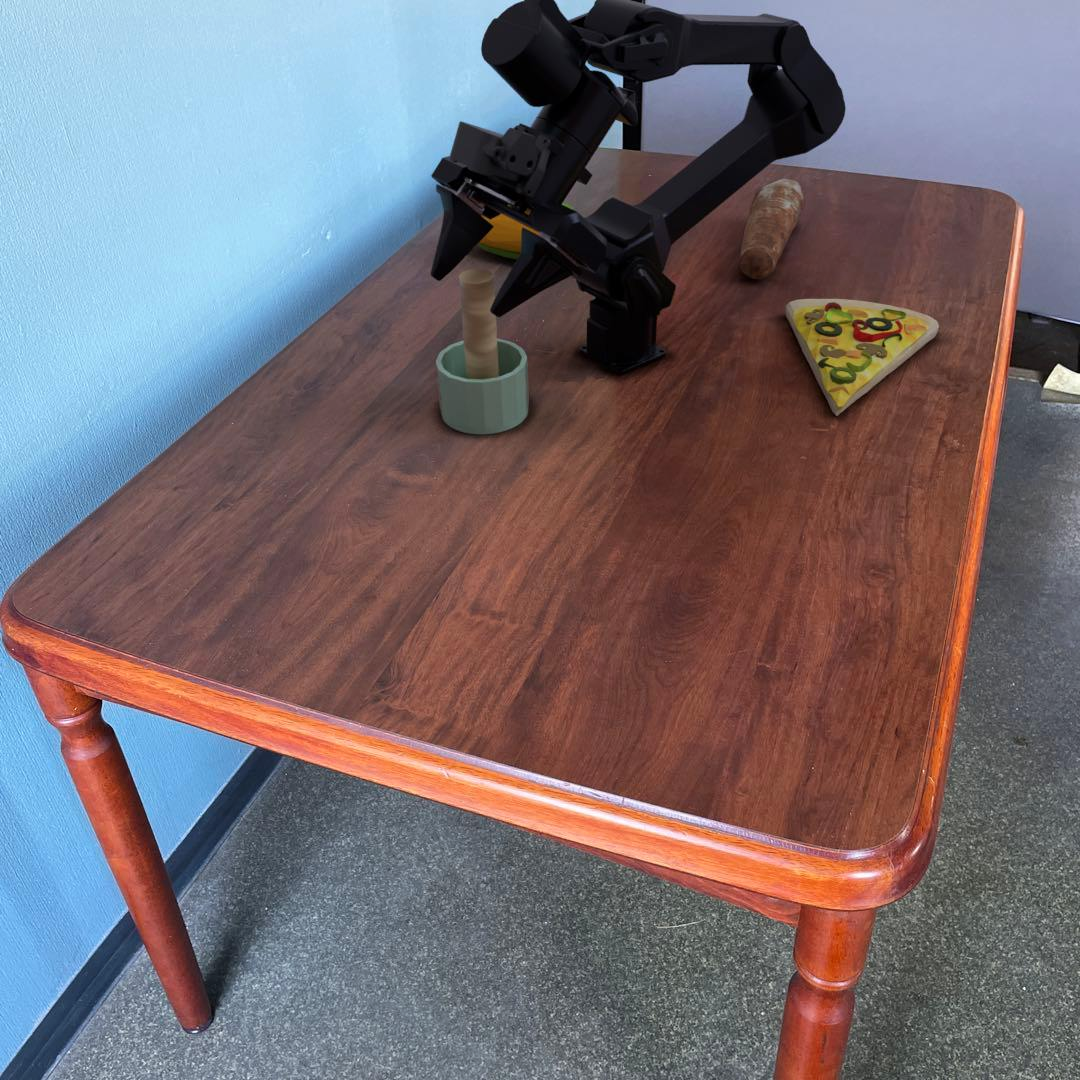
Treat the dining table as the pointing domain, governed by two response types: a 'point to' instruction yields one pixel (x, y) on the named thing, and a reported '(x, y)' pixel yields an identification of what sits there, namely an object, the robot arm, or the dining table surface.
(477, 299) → the dowel
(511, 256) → the corn
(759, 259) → the bread
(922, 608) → the dining table surface
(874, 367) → the pizza slice
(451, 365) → the cup
